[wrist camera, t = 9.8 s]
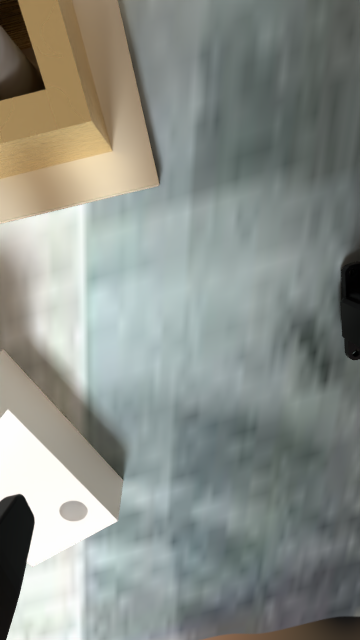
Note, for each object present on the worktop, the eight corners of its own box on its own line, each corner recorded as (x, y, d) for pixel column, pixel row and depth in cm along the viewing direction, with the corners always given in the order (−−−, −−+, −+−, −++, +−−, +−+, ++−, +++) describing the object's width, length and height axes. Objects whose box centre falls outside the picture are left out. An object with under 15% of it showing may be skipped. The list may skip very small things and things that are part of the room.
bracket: (-78, 401, 20) (-208, 501, 13) (5, 347, 19) (-84, 422, 12) (49, 518, 24) (4, 644, 17) (123, 477, 23) (108, 591, 16)
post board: (104, -54, 13) (67, -242, 8) (159, 185, 17) (159, 169, 11) (-113, 0, 14) (-297, -148, 8) (-17, 227, 17) (-102, 232, 11)
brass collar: (72, 1, 13) (24, -117, 9) (112, 151, 15) (91, 121, 11) (-59, 35, 13) (-177, -65, 9) (-3, 179, 15) (-74, 162, 11)
